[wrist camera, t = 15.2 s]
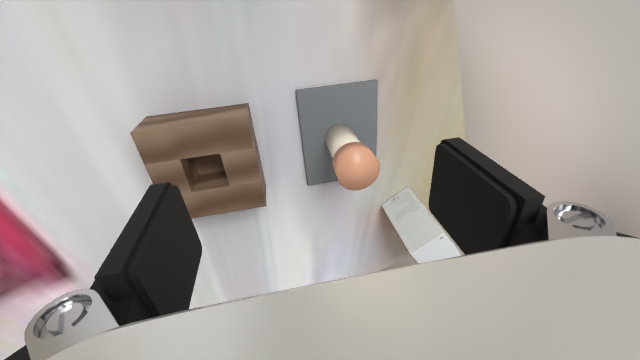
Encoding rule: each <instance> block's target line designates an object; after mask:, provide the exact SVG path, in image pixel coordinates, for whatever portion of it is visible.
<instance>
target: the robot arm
mask: <svg viewBox="0 0 640 360" xmlns="http://www.w3.org/2000/svg"><path fill="white" fill-rule="evenodd" d="M544 197H545V196H544V195H542V194H541V193H539V192H538V191H536V190H535V189H534V188H532V187H531V186H529V185H528V184H526V183H525V182H523V181H522V180H520V179H519V178H517V177H516V176H515V175H513V174H512V173H510V172H509V171H507V170H506V169H504V168H503V167H501V166H500V165H498V164H497V163H496V162H494V161H493V160H491V159H490V158H488V157H487V156H486V155H484V154H483V153H481V152H480V151H478V150H477V149H475V148H474V147H472V146H471V145H469V144H468V143H467V142H465V141H464V140H462V139H461V138H452V139H445V140H442V141H441V143H440V144H438V145H437V147H436V152H435V159H434V167H433V174H432V182H431V189H430V197H429V209H430V211H431V213H432V214H433V215H434V217H435V218H436V219H437V220H438V221H439V223H440V224H441V225H442V226H443V228H444V229H445V230H446V231H447V233H448V234H449V235H450V236H451V238H452V239H453V240H454V241H455V243H456V244H457V245H458V246H459V247H460V249H461V250H462V251H463V252H464V254H465V255H462V256H457V257H452V258H446V259H441V260H436V261H430V262H425V263H420V264H415V265H409V266H404V267H399V268H394V269H389V270H384V271H379V272H374V273H368V274H363V275H358V276H353V277H348V278H343V279H338V280H333V281H328V282H323V283H318V284H312V285H307V286H302V287H297V288H293V289H288V290H283V291H278V292H273V293H268V294H263V295H258V296H253V297H248V298H243V299H238V300H233V301H228V302H223V303H218V304H213V305H208V306H203V307H198V308H193V309H189V305H190V301H191V296H192V292H193V288H194V284H195V280H196V275H197V271H198V267H199V263H200V259H201V254H202V246H201V242H200V240H199V237H198V235H197V232H196V230H195V227H194V225H193V222H192V220H191V217H190V215H189V212H188V210H187V207H186V205H185V202H184V200H183V197H182V195H181V192H180V190H179V187H178V186H177V185H174V186H173V185H172V184H171V183H170V182H166V183H159V184H153V185H150V186H149V188H148V190H147V191H146V193H145V195H144V196H143V198H142V200H141V201H140V203H139V205H138V206H137V208H136V210H135V211H134V213H133V214H132V216H131V218H130V219H129V221H128V223H127V224H126V226H125V228H124V229H123V231H122V233H121V234H120V236H119V238H118V239H117V241H116V242H115V244H114V246H113V247H112V249H111V251H110V252H109V254H108V256H107V257H106V259H105V261H104V262H103V264H102V266H101V267H100V269H99V271H98V272H97V274H96V275H95V277H94V278H95V281H94V282H93V284H92V286H91V288H90V289H80V290H75V291H72V292H69V293H66V294H64V295H62V296H60V297H58V298H56V299H55V300H53V301H52V302H50V303H49V304H47V305H46V306H45V307H44V308H42V309H41V310H40V311H39V312H38V313H37V314H36V315H35V316H34V317H33V319H32V320H31V321H30V322H29V324H28V326H27V328H26V330H25V342H26V345H25V346H24V347H22V348H21V349H19V350H18V351H16V352H15V353H13V354H12V355H11V356H9V357H8V358H6V359H5V360H640V238H636V237H632V236H629V235H625V234H620V233H617V232H615V228H614V226H613V223H612V222H611V220H610V219H609V218H608V217H607V216H606V215H605V214H603V213H601V212H600V211H598V210H596V209H594V208H591V207H589V206H586V205H583V204H579V203H574V202H555V203H552V204H550V205H549V206H548V208H546V207H545V206H544V205H542V203H543V200H544Z"/></svg>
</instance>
